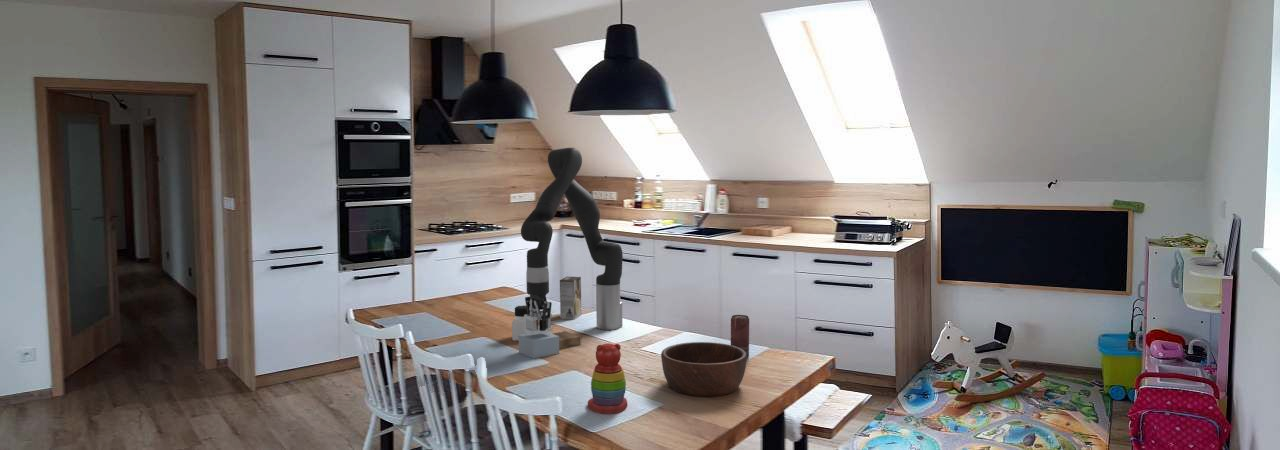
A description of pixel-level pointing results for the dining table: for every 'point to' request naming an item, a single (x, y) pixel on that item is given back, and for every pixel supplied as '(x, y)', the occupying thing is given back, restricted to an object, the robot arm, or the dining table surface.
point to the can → (740, 332)
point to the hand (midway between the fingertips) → (538, 328)
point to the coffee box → (570, 297)
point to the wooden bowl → (703, 368)
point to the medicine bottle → (519, 322)
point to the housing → (532, 324)
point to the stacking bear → (608, 381)
